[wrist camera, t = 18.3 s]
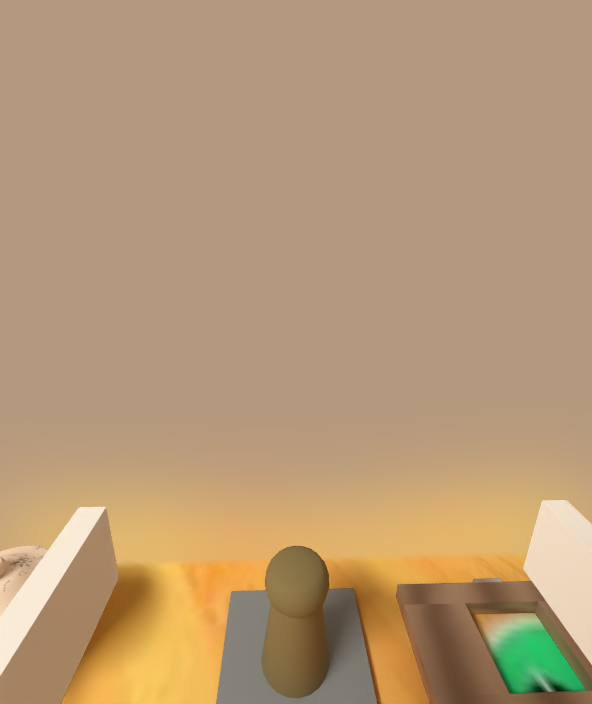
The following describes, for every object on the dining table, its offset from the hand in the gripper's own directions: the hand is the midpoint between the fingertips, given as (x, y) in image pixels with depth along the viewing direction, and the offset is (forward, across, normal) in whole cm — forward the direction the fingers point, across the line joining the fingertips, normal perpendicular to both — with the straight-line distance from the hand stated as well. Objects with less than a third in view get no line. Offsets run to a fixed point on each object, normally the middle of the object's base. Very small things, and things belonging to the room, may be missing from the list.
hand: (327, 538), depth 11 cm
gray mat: (+14, 0, -28) cm, 31 cm away
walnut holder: (+14, +21, -28) cm, 38 cm away
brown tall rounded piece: (+14, 0, -28) cm, 31 cm away
